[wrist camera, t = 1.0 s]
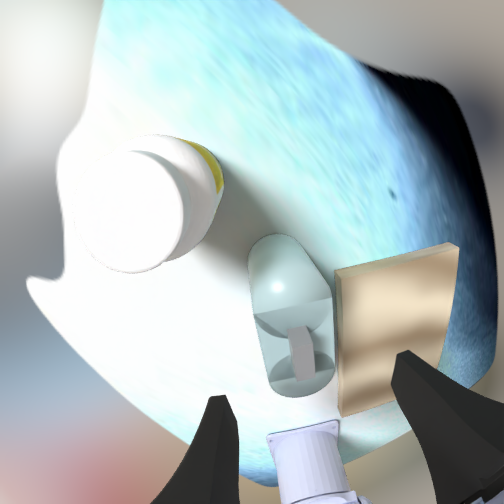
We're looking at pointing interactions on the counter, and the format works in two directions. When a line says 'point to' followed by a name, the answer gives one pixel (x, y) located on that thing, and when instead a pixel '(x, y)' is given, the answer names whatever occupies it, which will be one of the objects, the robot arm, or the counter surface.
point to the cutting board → (390, 320)
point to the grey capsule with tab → (291, 316)
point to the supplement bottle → (147, 202)
